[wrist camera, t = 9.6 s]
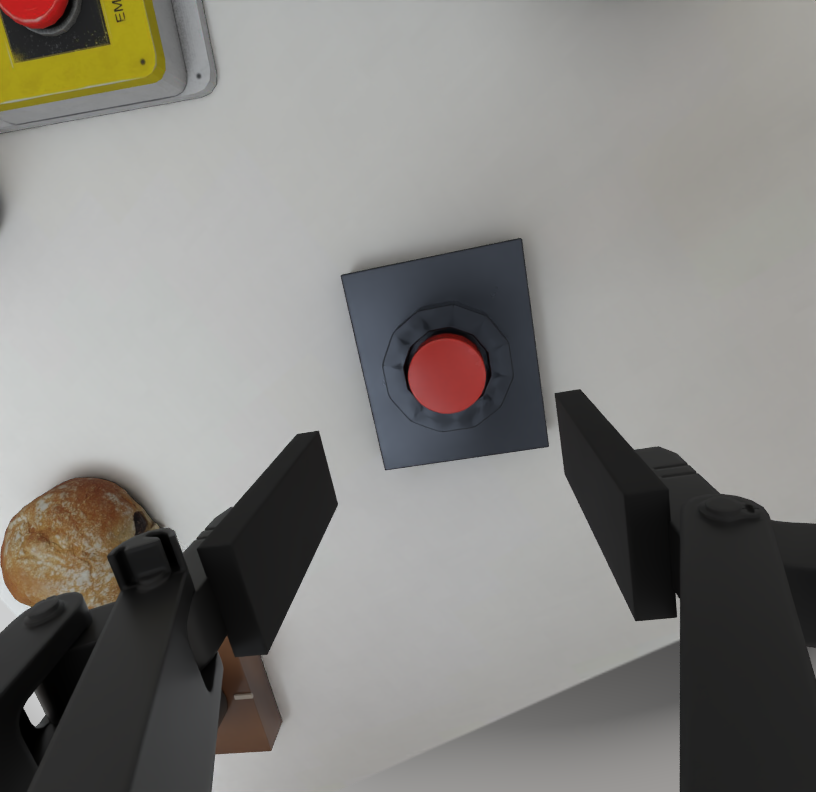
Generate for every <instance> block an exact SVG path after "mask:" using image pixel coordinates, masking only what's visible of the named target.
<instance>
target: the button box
mask: <svg viewBox="0 0 816 792" xmlns="http://www.w3.org/2000/svg"><path fill="white" fill-rule="evenodd" d="M341 279H342V284H343V288H344V292H345V297H346V301H347V305H348V310H349V314H350V319H351V323H352V327H353V332H354V336H355V341H356V345H357V349H358V354H359V358H360V363H361V367H362V371H363V376H364V380H365V384H366V389H367V393H368V398H369V402H370V406H371V411H372V415H373V420H374V424H375V428H376V433H377V437H378V441H379V446H380V450H381V455H382V459H383V463H384V468H385V470H391V469H398V468H405V467H412V466H419V465H426V464H433V463H439V462H446V461H453V460H460V459H467V458H474V457H481V456H488V455H495V454H502V453H509V452H516V451H523V450H530V449H537V448H544V447H549V442H548V434H547V427H546V419H545V411H544V404H543V396H542V389H541V381H540V373H539V366H538V358H537V350H536V343H535V335H534V327H533V320H532V312H531V305H530V297H529V289H528V282H527V274H526V266H525V259H524V251H523V243H522V239H521V238H518V239H513V240H508V241H503V242H498V243H494V244H489V245H484V246H479V247H474V248H469V249H464V250H460V251H455V252H450V253H445V254H440V255H435V256H430V257H426V258H421V259H416V260H411V261H406V262H401V263H396V264H392V265H387V266H382V267H377V268H372V269H367V270H362V271H358V272H353V273H348V274H343V275H341ZM443 333H452V334H457V335H461V336H463V337H465V338H467V339H469V340H470V341H471V342H472V343H474V345H475V346H476V347H477V348H478V349H479V351H480V353H481V355H482V357H483V361H484V365H485V369H486V382H485V387H484V390H483V392H482V394H481V395H480V397H479V398H478V400H477V401H476V402H475V403H474V404H473V405H472V406H470V407H469V408H467V409H465V410H463V411H460V412H457V413H451V414H443V413H437V412H434V411H431V410H429V409H427V408H426V407H424V406H423V405H422V404H420V403H419V402H418V401H417V399H416V398H415V397H414V395H413V393H412V391H411V389H410V386H409V382H408V370H409V366H410V363H411V360H412V358H413V355H414V353H415V351H416V350H417V348H418V347H419V346H420V345H421V344H422V343H423V342H424V341H425V340H427V339H428V338H430V337H432V336H435V335H438V334H443Z"/></svg>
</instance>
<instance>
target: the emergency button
mask: <svg viewBox="0 0 816 792" xmlns="http://www.w3.org/2000/svg"><path fill="white" fill-rule="evenodd" d="M216 78H217V73H216V68H215V63H214V58H213V53H212V48H211V43H210V39H209V34H208V29H207V24H206V19H205V14H204V9H203V4H202V0H0V133H4V132H10V131H15V130H21V129H27V128H32V127H38V126H43V125H49V124H55V123H60V122H66V121H71V120H77V119H83V118H88V117H94V116H99V115H105V114H111V113H116V112H122V111H127V110H133V109H139V108H144V107H150V106H155V105H161V104H166V103H172V102H178V101H183V100H189V99H194V98H200V97H203V96H205V95H207V94H210V93H211V92H212V90H213V89H214V87H215V86H216Z"/></svg>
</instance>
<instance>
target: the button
mask: <svg viewBox="0 0 816 792" xmlns="http://www.w3.org/2000/svg"><path fill="white" fill-rule="evenodd" d="M408 382H409V386H410V389H411V391H412V393H413V395H414V397H415V398H416V399H417V401H418V402H419V403H420V404H422V405H423V406H424V407H426V408H427V409H429V410H431V411H434V412H437V413H443V414H451V413H457V412H460V411H463V410H465V409H467V408H469V407H470V406H472V405H473V404H474V403H475V402H476V401H477V400H478V398H479V397H480V395H481V394H482V392H483V390H484V387H485V382H486V369H485V365H484V361H483V357H482V355H481V353H480V351H479V349H478V348H477V347H476V346H475V345H474V343H472V342H471V341H470V340H469V339H467V338H465V337H463V336H461V335H457V334H452V333H443V334H438V335H435V336H432V337H430V338H428V339H427V340H425V341H424V342H423V343H422V344H421V345H420V346H419V347H418V348H417V350H416V351H415V353H414V355H413V358H412V360H411V363H410V366H409V370H408Z"/></svg>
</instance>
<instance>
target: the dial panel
mask: <svg viewBox="0 0 816 792" xmlns="http://www.w3.org/2000/svg"><path fill="white" fill-rule="evenodd" d="M218 652H219V655H220V658H221V661H222V664H223V678H222V688H221V690H222V691H223V693H224V694H225V697H226V699H227V712H226V715H225V717H224V719H223V721H222V723H221V725H220V727H219V729H218V731H217V740H216V750H215V754H229V753H246V752H262V751H271V750H272V748H273V745H274V742H275V740H276V737H277V734H278V732H279V729H280V726H281V724H282V719H281V717H280V714H279V711H278V708H277V705H276V702H275V699H274V696H273V693H272V690H271V687H270V684H269V681H268V678H267V675H266V672H265V669H264V666H263V663H262V660H261V657H260V655H256V656H245V657H235V656H234V654H233V651H232V648H231V645H230V642H229V639H228V637H227V636H226V638H225V640H224V641H223V643H222V645H221V646H220V648H219V650H218Z"/></svg>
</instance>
